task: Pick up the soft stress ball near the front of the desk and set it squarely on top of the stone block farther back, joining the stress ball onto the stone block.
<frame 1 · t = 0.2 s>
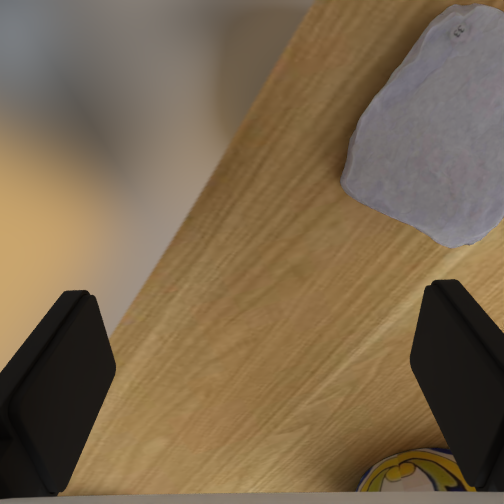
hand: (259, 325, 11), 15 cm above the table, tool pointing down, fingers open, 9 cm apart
stone block: (432, 126, 23), on the table
table lamp: (419, 484, 41), on the table
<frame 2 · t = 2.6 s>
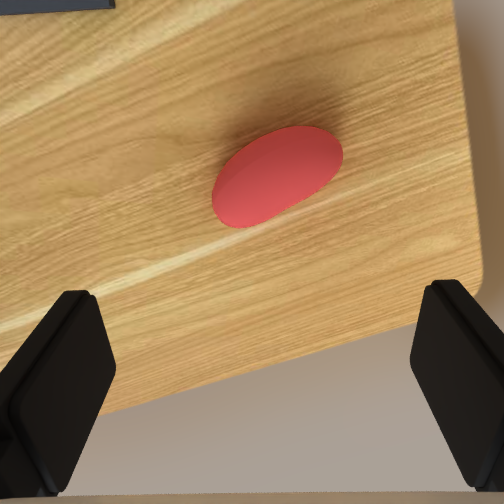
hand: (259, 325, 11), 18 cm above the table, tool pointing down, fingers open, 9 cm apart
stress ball: (272, 166, 27), on the table
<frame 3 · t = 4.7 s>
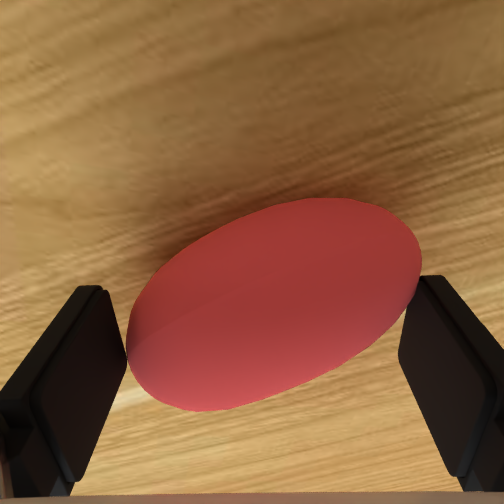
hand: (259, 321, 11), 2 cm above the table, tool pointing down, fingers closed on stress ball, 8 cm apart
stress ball: (260, 262, 13), on the table, touching gripper
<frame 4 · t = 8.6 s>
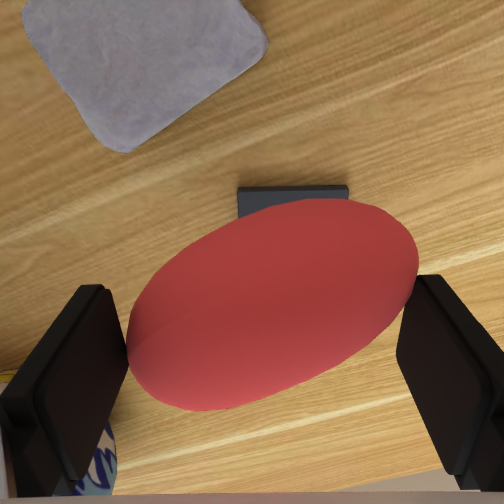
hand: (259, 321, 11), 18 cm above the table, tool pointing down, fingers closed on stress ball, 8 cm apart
stone block: (150, 32, 23), on the table
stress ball: (258, 262, 13), point 15 cm above the table, touching gripper
felt pad: (290, 234, 29), on the table
table lamp: (44, 413, 40), on the table
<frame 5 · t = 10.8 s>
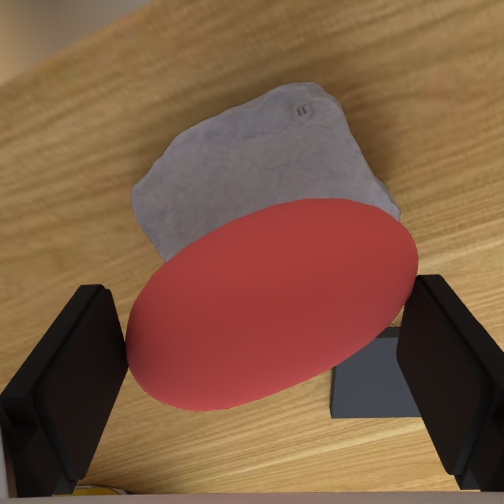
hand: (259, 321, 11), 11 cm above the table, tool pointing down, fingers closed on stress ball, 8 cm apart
stone block: (257, 190, 21), on the table
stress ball: (258, 262, 13), point 8 cm above the table, touching gripper
felt pad: (387, 369, 27), on the table
when the fingers open (7 cm above the table, at t = 12.3 s): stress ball stays where it is, resting on stone block.
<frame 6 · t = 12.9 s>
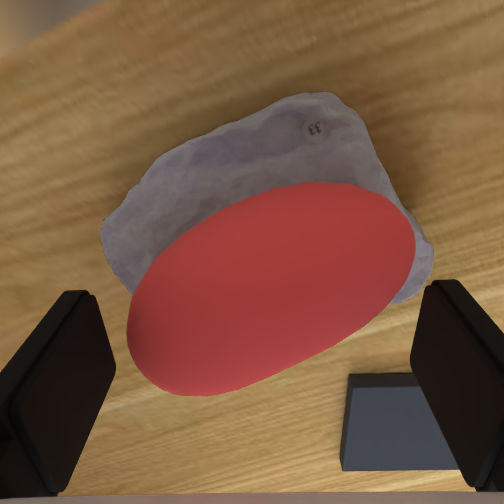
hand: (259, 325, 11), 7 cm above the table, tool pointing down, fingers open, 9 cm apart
stone block: (257, 219, 17), on the table, touching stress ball
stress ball: (260, 256, 13), point 4 cm above the table, touching stone block
felt pad: (407, 417, 24), on the table
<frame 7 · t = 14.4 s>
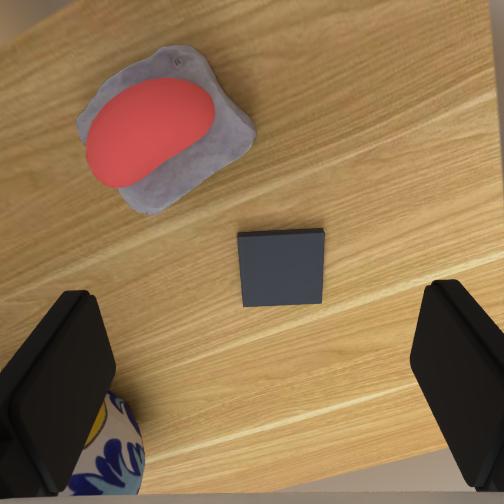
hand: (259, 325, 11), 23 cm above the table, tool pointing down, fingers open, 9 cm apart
stone block: (167, 124, 31), on the table, touching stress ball
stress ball: (156, 128, 27), point 4 cm above the table, touching stone block
felt pad: (281, 266, 37), on the table
table lamp: (81, 416, 48), on the table
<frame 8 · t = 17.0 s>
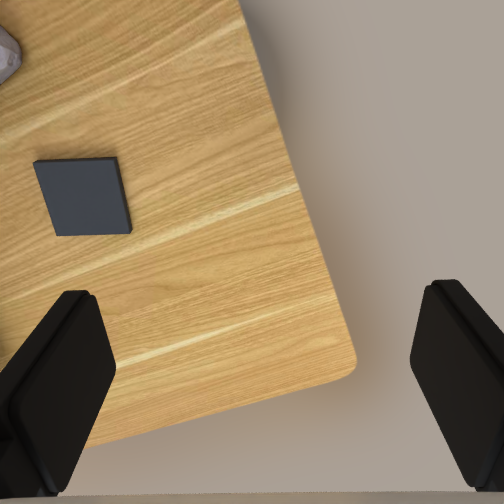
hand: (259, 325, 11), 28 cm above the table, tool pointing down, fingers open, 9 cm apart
felt pad: (87, 196, 39), on the table
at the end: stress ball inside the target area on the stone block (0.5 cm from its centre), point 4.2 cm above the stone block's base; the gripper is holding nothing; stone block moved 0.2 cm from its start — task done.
